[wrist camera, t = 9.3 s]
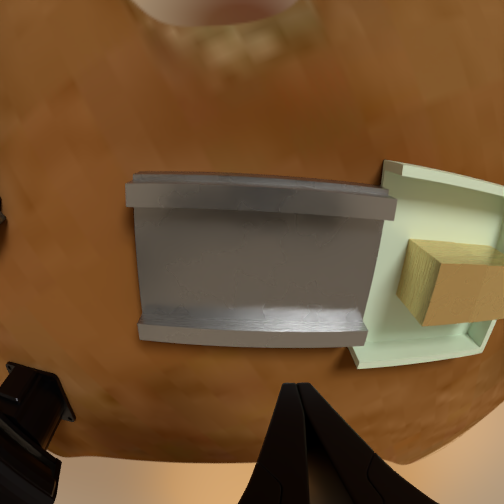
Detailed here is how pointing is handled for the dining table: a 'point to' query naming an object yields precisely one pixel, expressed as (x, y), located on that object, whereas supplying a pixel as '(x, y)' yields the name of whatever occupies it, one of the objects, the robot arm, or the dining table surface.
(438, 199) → the tray
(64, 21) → the dining table surface
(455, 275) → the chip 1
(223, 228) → the slot rail
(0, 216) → the wooden stick
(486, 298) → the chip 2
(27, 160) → the dining table surface
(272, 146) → the dining table surface
